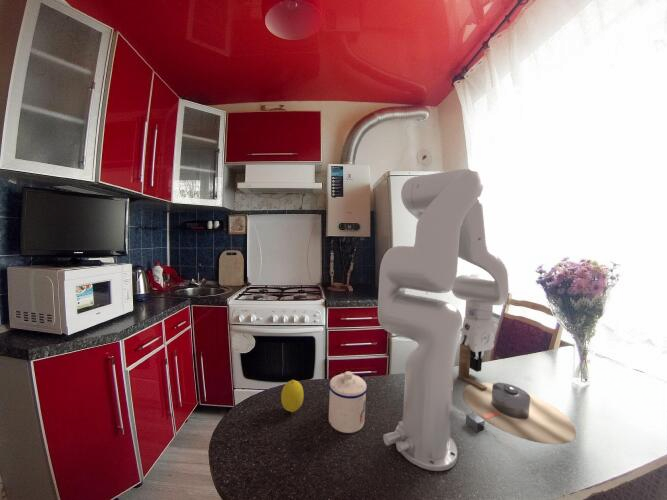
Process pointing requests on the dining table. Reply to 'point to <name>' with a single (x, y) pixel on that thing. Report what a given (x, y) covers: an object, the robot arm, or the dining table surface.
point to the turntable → (538, 427)
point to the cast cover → (510, 400)
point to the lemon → (292, 396)
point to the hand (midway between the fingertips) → (474, 369)
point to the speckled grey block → (475, 422)
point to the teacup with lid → (347, 402)
